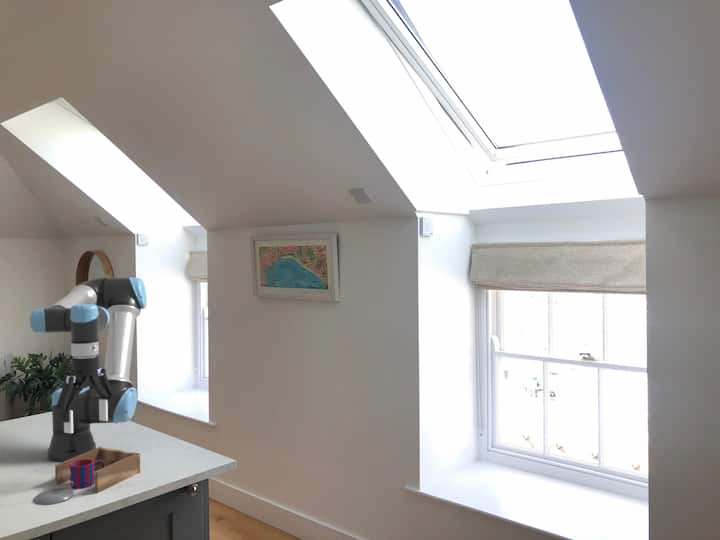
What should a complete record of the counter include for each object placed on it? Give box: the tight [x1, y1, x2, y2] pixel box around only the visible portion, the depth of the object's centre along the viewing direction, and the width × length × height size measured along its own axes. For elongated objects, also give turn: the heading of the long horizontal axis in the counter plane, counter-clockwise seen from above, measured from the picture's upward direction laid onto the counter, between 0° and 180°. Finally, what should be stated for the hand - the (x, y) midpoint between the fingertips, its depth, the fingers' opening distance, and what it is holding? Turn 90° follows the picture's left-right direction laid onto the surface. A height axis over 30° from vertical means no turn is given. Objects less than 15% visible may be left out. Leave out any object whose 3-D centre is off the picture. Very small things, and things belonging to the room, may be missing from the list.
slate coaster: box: [34, 487, 75, 505], centre depth 183 cm, size 10×10×1 cm
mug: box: [69, 459, 105, 490], centre depth 193 cm, size 7×10×7 cm
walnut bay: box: [54, 446, 141, 494], centre depth 197 cm, size 16×18×6 cm
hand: (86, 426), depth 192 cm, fingers open, 13 cm apart
